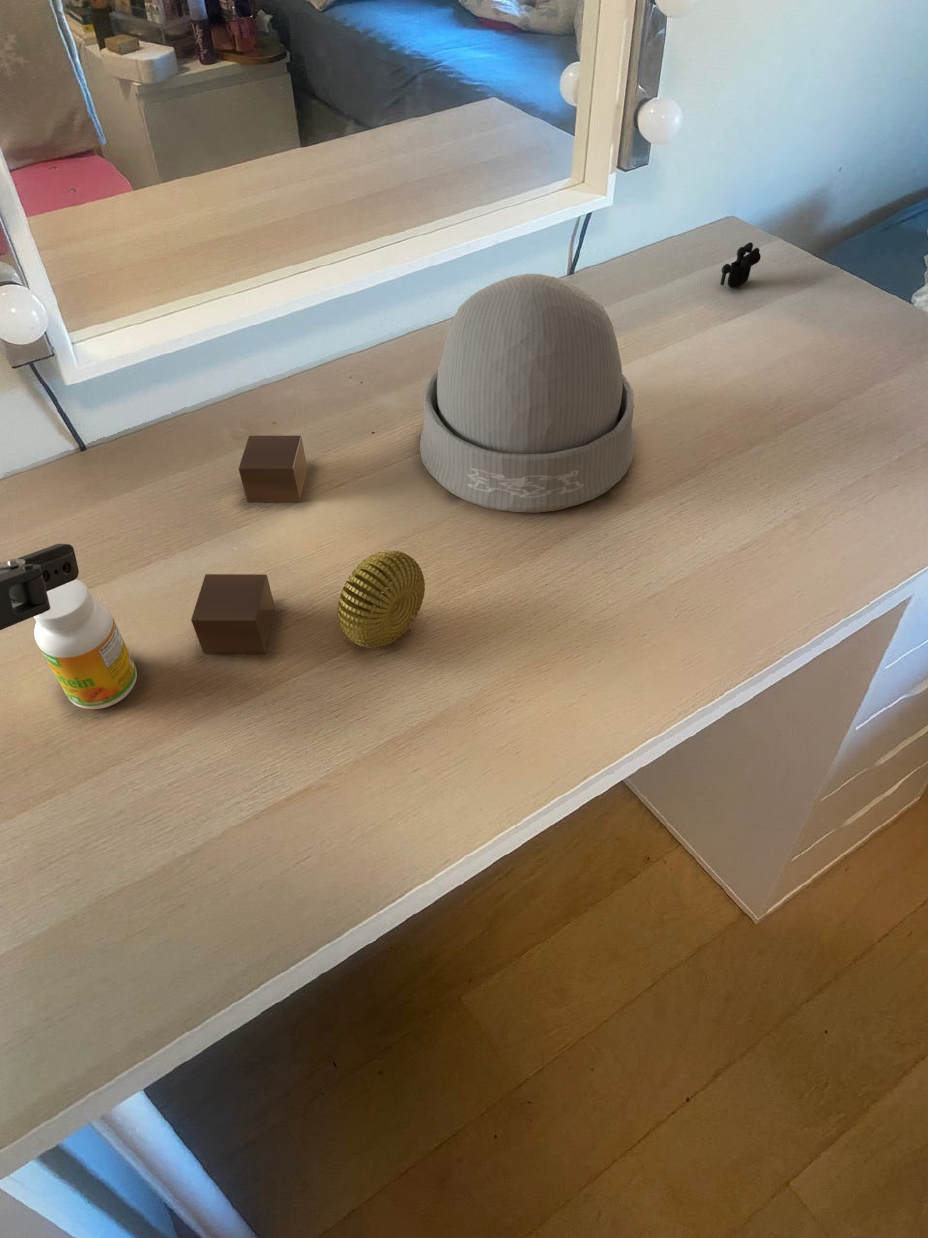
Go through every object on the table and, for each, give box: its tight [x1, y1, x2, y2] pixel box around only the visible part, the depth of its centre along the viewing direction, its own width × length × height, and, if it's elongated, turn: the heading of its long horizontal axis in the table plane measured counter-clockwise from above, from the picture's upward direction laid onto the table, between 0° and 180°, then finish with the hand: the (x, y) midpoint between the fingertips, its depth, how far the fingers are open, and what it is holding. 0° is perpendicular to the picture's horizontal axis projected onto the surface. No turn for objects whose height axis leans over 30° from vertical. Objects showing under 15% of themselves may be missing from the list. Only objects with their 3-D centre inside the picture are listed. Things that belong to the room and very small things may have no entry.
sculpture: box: [337, 550, 426, 649], centre depth 69 cm, size 8×4×8 cm, turn 140°
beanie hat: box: [419, 273, 636, 514], centre depth 83 cm, size 21×21×20 cm
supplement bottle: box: [33, 578, 138, 710], centre depth 66 cm, size 5×5×10 cm
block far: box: [238, 435, 308, 503], centre depth 84 cm, size 5×5×4 cm
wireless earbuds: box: [719, 241, 762, 289], centre depth 107 cm, size 7×2×5 cm, turn 132°
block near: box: [190, 573, 276, 655], centre depth 71 cm, size 5×5×4 cm
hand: (18, 555), depth 55 cm, fingers open, 8 cm apart
